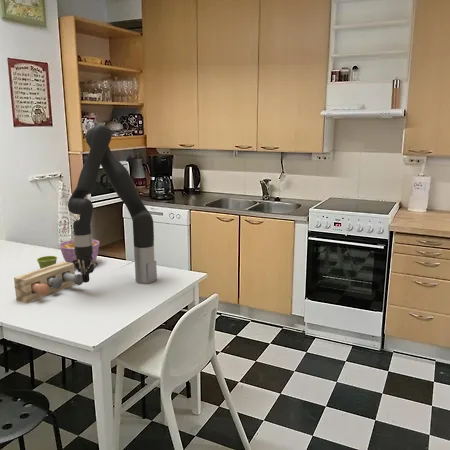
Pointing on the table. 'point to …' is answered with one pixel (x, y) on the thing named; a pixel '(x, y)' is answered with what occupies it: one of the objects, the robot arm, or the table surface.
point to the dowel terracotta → (40, 288)
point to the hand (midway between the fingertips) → (86, 281)
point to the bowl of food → (69, 250)
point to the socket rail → (41, 281)
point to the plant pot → (46, 261)
